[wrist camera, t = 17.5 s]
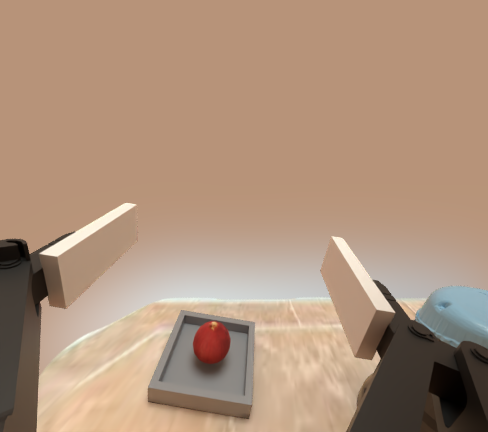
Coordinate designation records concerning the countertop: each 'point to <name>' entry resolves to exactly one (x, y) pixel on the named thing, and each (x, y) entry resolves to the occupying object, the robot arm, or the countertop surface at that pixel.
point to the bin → (206, 369)
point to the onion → (211, 342)
